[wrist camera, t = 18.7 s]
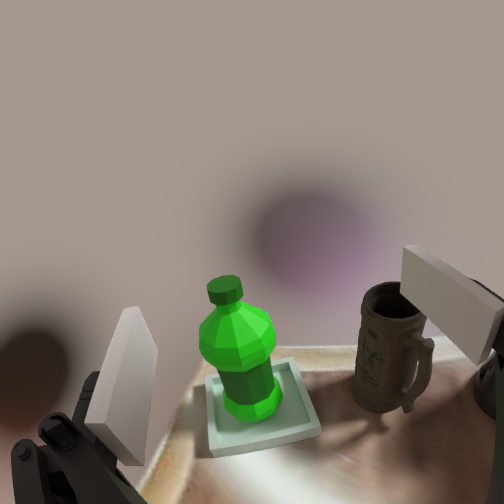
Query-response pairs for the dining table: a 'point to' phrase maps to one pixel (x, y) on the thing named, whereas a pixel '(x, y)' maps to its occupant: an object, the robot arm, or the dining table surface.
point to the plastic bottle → (240, 351)
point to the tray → (270, 429)
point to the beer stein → (391, 351)
